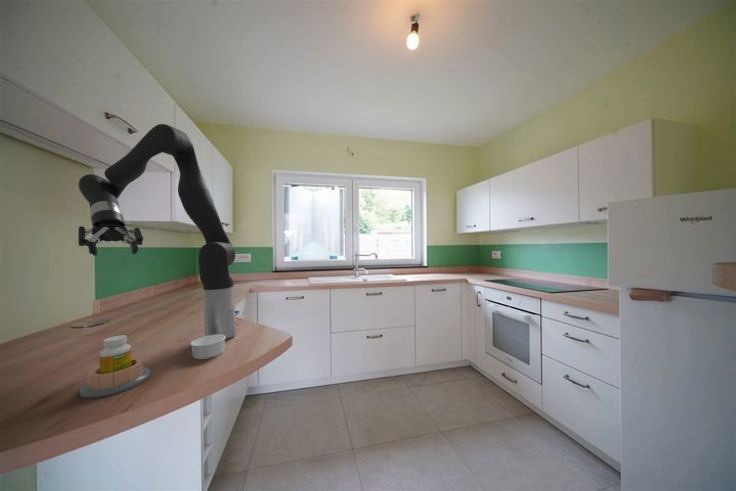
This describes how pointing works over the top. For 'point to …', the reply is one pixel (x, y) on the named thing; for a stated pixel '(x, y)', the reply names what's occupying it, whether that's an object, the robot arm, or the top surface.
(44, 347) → the top surface
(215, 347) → the ramekin
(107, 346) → the supplement bottle
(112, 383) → the holder
